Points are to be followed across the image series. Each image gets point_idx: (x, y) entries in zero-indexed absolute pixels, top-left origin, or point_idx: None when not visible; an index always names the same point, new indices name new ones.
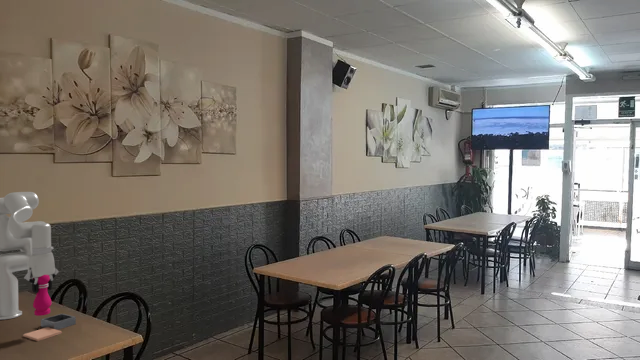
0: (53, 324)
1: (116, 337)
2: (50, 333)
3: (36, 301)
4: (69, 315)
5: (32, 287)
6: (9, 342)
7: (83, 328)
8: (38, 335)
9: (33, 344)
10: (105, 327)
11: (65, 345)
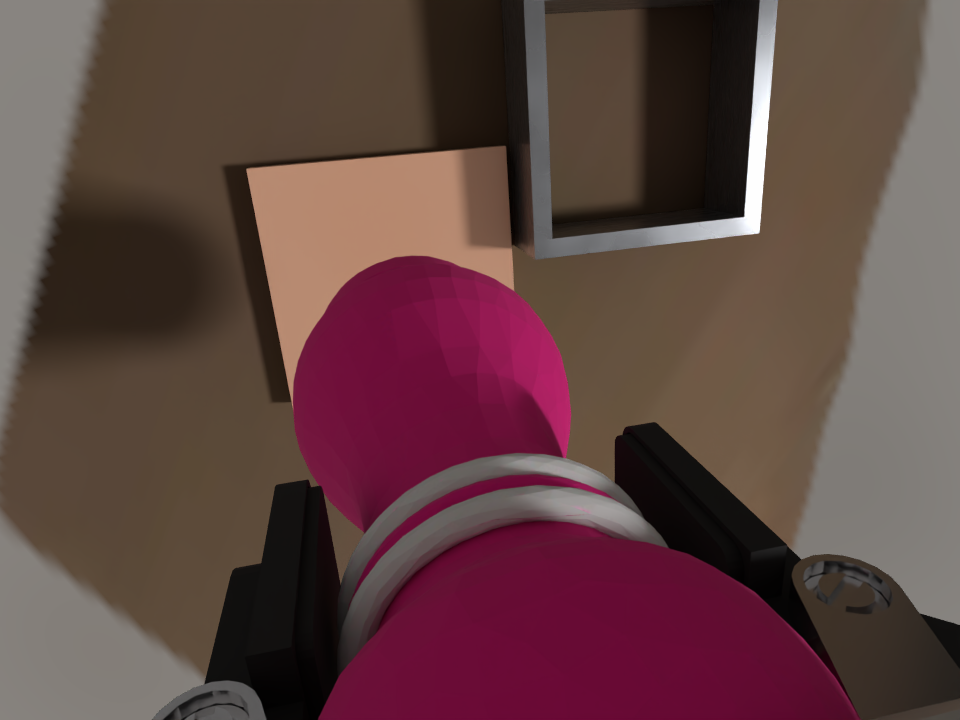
0: (529, 243)
1: None
2: None
3: (319, 481)
4: (762, 129)
5: (221, 646)
6: (88, 231)
7: (676, 385)
8: None
9: (239, 450)
10: (765, 486)
11: None
